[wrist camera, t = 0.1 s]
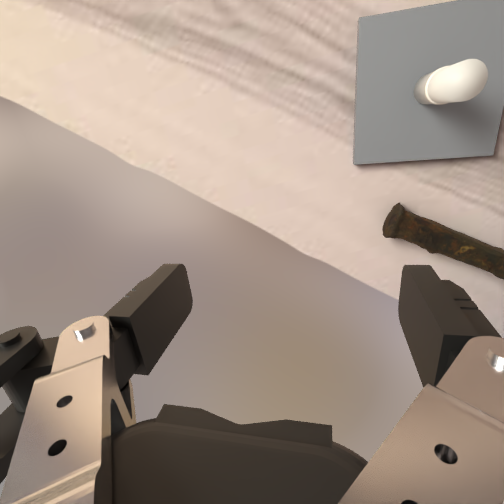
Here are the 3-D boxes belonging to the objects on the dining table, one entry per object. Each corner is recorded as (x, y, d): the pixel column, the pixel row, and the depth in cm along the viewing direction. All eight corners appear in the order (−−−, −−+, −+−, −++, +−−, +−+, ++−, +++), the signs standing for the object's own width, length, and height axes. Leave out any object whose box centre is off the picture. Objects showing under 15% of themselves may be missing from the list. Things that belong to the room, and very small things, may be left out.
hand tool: (376, 226, 39) (383, 240, 35) (394, 199, 37) (403, 210, 33) (512, 286, 38) (535, 308, 34) (537, 262, 36) (565, 281, 32)
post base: (358, 21, 30) (372, -18, 21) (521, -8, 27) (621, -69, 18) (352, 163, 36) (362, 180, 27) (487, 153, 33) (550, 169, 24)
